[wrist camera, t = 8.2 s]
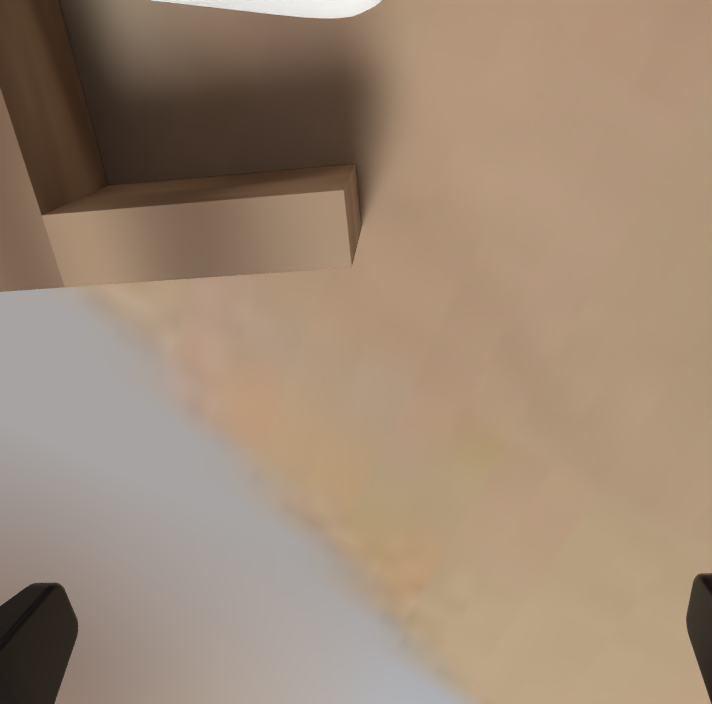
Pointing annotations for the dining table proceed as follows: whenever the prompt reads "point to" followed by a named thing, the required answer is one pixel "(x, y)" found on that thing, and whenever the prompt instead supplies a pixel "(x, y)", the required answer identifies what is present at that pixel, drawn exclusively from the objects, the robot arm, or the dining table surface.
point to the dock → (138, 190)
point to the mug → (290, 6)
